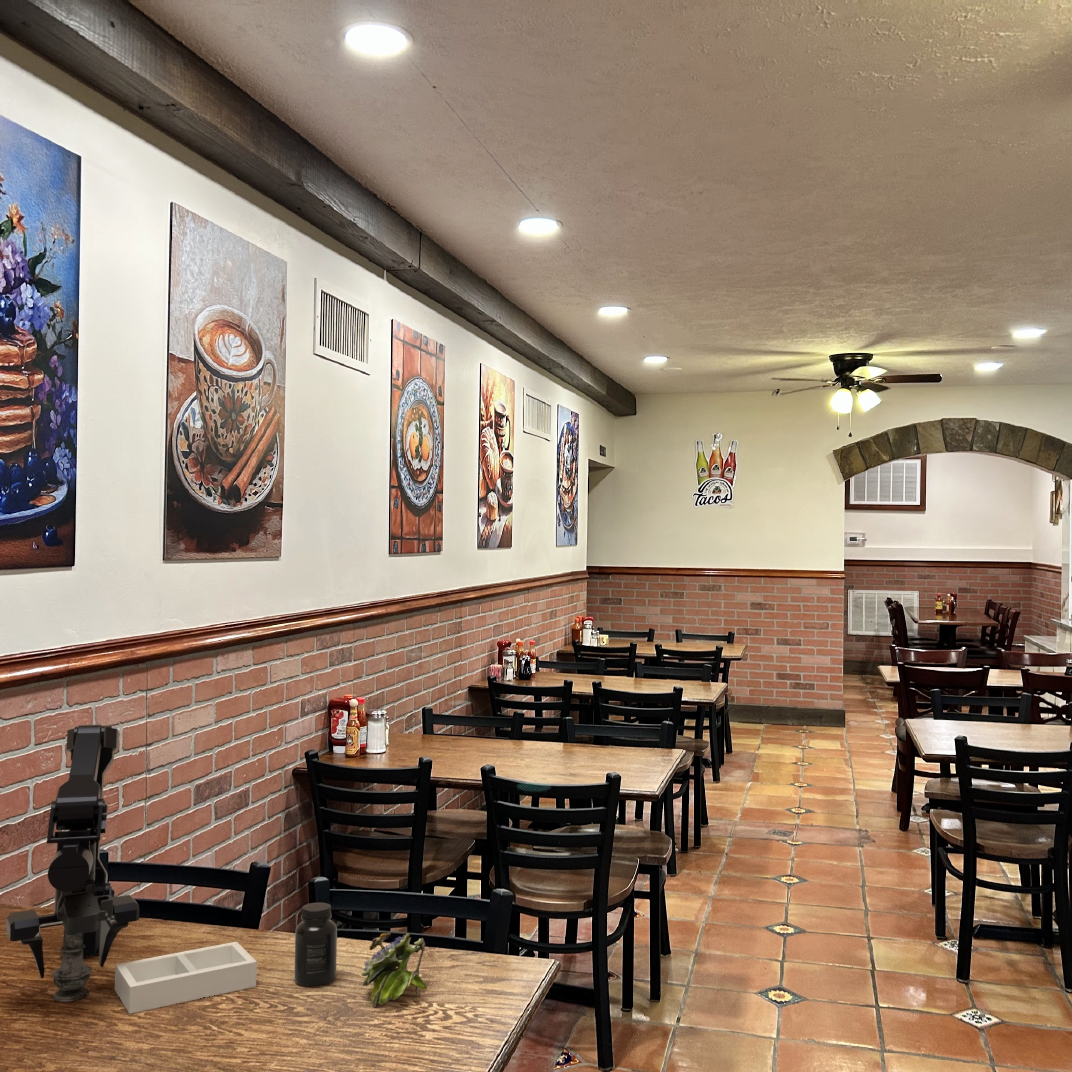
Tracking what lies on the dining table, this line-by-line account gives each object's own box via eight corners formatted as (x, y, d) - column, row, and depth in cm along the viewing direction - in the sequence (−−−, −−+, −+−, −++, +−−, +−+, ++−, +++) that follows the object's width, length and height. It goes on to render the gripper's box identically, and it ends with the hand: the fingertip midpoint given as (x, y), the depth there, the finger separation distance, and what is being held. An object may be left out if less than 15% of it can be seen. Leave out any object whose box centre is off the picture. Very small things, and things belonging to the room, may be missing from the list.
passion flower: (377, 1021, 166) (388, 945, 173) (437, 1019, 163) (446, 942, 170) (343, 1003, 158) (356, 924, 165) (406, 1001, 154) (416, 920, 162)
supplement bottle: (343, 975, 171) (345, 903, 171) (322, 990, 165) (324, 915, 165) (308, 969, 173) (310, 898, 174) (285, 984, 167) (287, 910, 167)
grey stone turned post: (77, 1003, 158) (80, 925, 158) (42, 1000, 158) (45, 922, 159) (99, 988, 163) (101, 913, 164) (65, 985, 164) (67, 910, 165)
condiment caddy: (114, 989, 163) (115, 964, 163) (235, 965, 174) (236, 941, 174) (129, 1013, 155) (130, 987, 155) (256, 986, 166) (256, 961, 166)
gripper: (16, 896, 150) (13, 1003, 149) (149, 876, 160) (145, 977, 160) (7, 876, 159) (3, 977, 158) (132, 859, 169) (129, 954, 169)
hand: (72, 971), depth 161 cm, fingers closed on grey stone turned post, 8 cm apart
